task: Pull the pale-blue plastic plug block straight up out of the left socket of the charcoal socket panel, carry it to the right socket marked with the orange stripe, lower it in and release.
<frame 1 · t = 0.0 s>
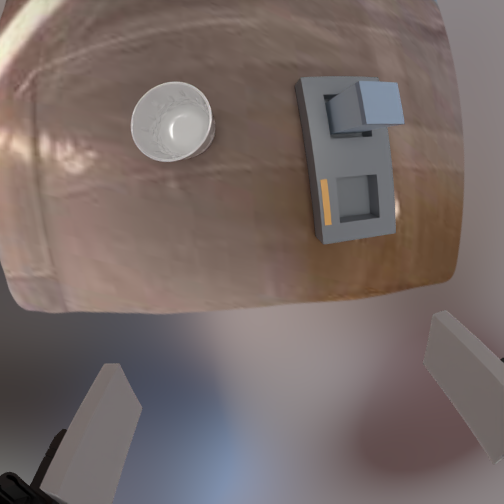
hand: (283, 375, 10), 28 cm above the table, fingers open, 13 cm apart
white cup: (189, 131, 34), on the table
plug: (340, 118, 32), point 1 cm above the table, touching panel
panel: (343, 156, 35), on the table
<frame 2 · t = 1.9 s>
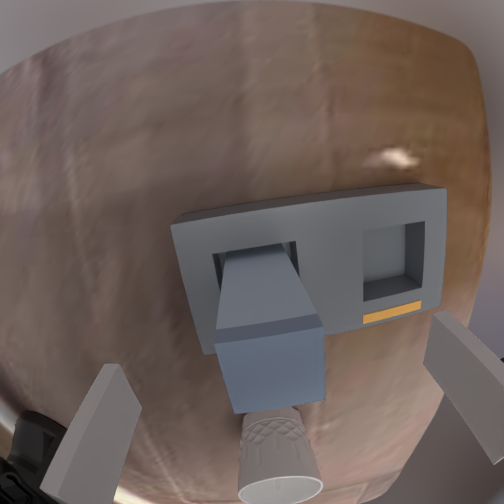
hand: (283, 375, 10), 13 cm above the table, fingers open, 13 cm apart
white cup: (271, 419, 29), on the table
plug: (257, 270, 22), point 1 cm above the table, touching panel
panel: (317, 255, 23), on the table
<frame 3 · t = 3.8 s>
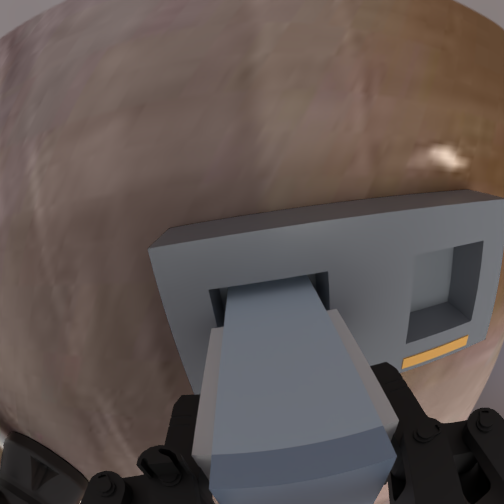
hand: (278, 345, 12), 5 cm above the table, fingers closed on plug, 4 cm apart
plug: (270, 303, 16), point 1 cm above the table, touching gripper, panel
panel: (348, 281, 17), on the table
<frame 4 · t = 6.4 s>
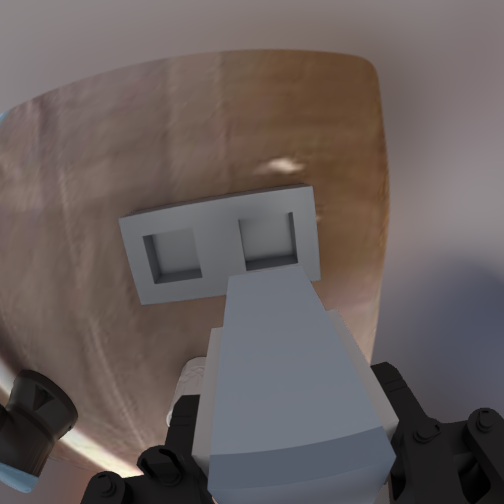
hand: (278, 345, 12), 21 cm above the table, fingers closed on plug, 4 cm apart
white cup: (206, 372, 39), on the table
plug: (269, 303, 16), point 17 cm above the table, touching gripper
panel: (221, 239, 33), on the table
when the fingers open (7 cm above the table, at t = 9.0 s): plug drops 1 cm, resting on panel.
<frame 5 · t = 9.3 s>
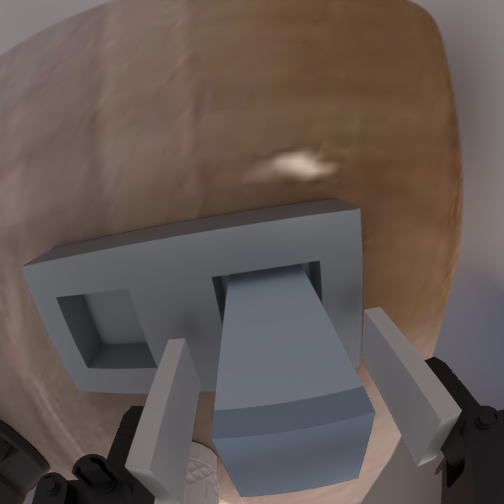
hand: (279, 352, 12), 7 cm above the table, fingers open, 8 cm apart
white cup: (186, 453, 25), on the table
plug: (267, 292, 18), point 1 cm above the table, touching panel
panel: (192, 296, 19), on the table
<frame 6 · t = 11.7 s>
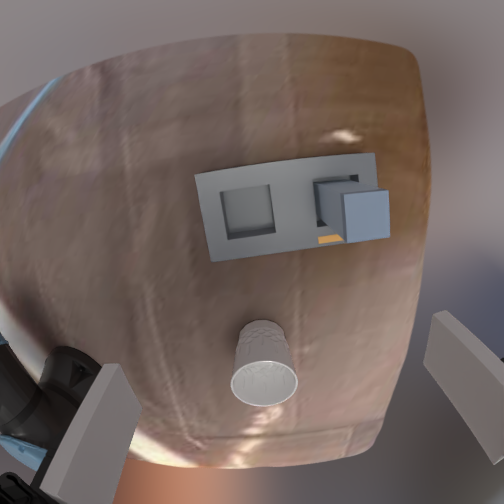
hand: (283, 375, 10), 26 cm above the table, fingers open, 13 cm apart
white cup: (261, 337, 41), on the table
plug: (330, 196, 34), point 1 cm above the table, touching panel
panel: (289, 200, 35), on the table
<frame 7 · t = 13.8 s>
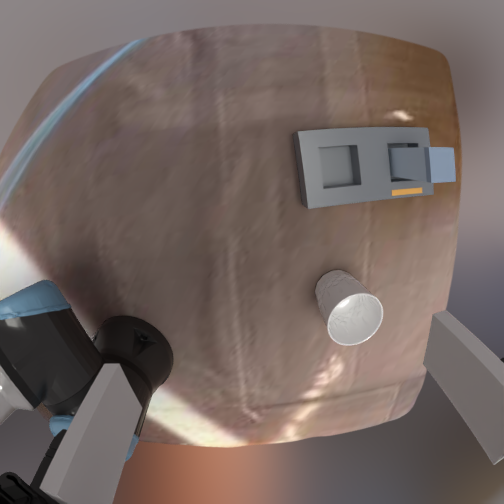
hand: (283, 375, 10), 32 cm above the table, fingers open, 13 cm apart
white cup: (334, 288, 45), on the table
plug: (394, 161, 38), point 1 cm above the table, touching panel
panel: (363, 163, 39), on the table
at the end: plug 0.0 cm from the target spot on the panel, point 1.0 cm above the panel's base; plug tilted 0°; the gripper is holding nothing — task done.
